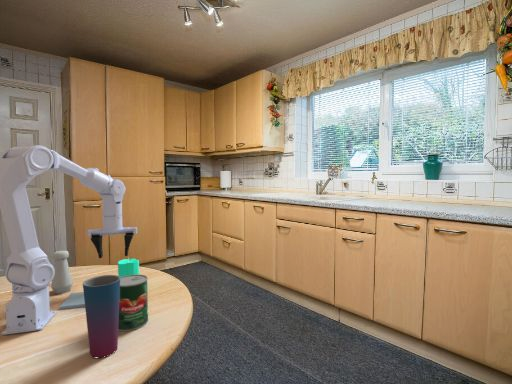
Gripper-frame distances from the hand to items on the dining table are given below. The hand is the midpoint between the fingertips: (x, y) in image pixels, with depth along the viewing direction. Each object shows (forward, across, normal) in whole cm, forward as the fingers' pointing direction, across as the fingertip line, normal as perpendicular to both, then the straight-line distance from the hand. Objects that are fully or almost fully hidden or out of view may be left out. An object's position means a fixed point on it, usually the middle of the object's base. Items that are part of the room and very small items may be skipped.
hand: (113, 256), depth 94 cm
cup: (+11, -4, +38) cm, 40 cm away
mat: (+10, +7, +8) cm, 15 cm away
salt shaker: (+11, +16, -2) cm, 19 cm away
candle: (+11, -5, +7) cm, 14 cm away
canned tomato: (+11, -8, +27) cm, 30 cm away
